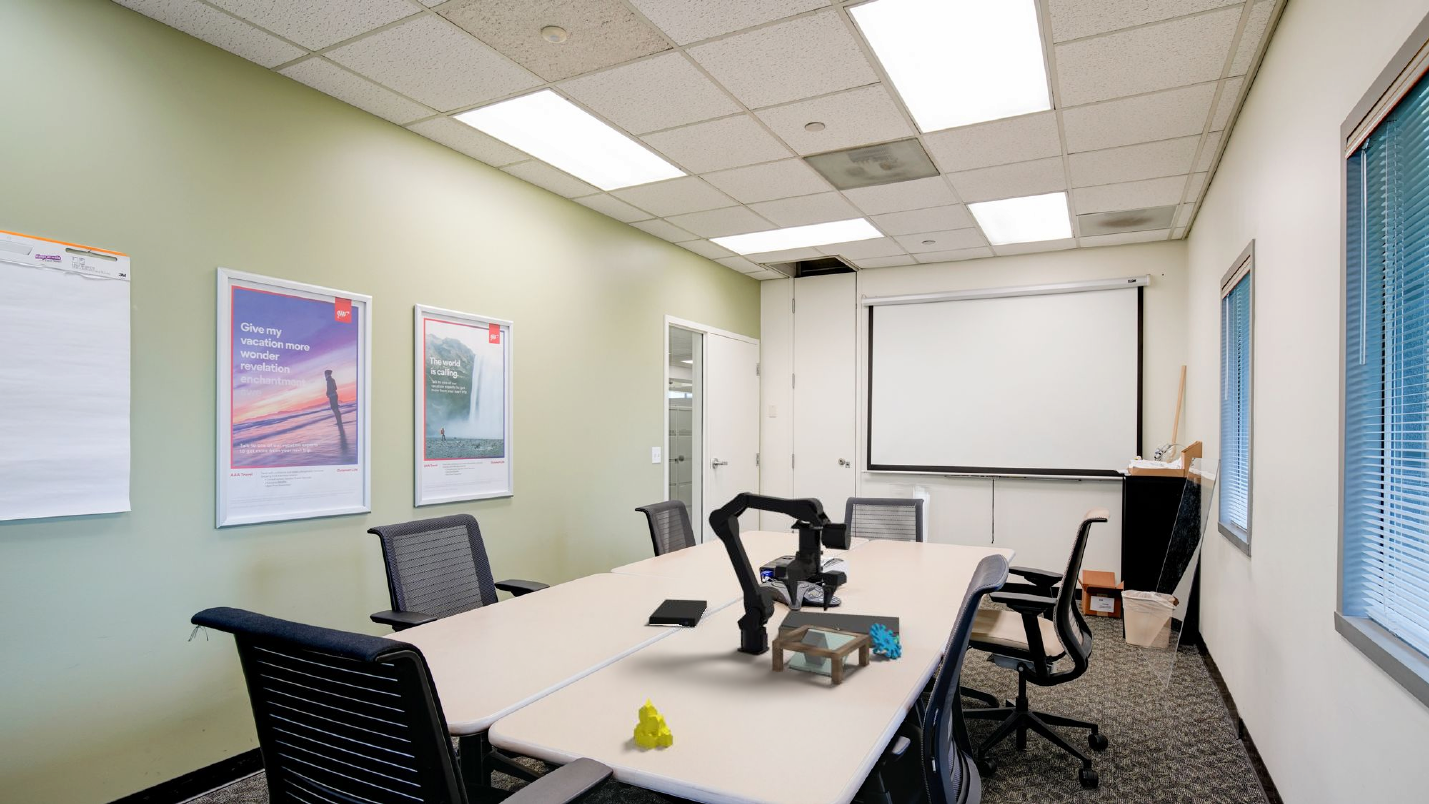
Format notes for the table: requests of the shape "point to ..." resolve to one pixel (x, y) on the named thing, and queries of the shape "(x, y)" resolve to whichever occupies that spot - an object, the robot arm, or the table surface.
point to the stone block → (815, 640)
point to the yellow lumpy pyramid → (652, 728)
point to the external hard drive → (679, 612)
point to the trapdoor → (833, 643)
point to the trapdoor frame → (821, 650)
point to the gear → (885, 641)
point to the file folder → (838, 623)
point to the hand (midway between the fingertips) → (809, 608)
